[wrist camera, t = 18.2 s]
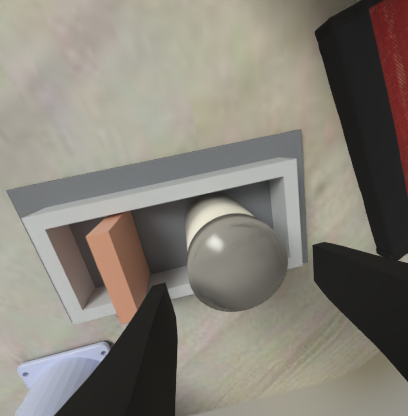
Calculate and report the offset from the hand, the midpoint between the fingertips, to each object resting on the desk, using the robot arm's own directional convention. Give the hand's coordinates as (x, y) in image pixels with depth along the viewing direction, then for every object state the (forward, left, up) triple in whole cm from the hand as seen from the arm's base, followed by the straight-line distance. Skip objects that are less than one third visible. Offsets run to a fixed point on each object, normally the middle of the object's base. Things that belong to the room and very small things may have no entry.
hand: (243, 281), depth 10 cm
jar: (0, 0, -8) cm, 8 cm away
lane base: (0, +3, -8) cm, 9 cm away
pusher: (0, +7, -8) cm, 11 cm away
